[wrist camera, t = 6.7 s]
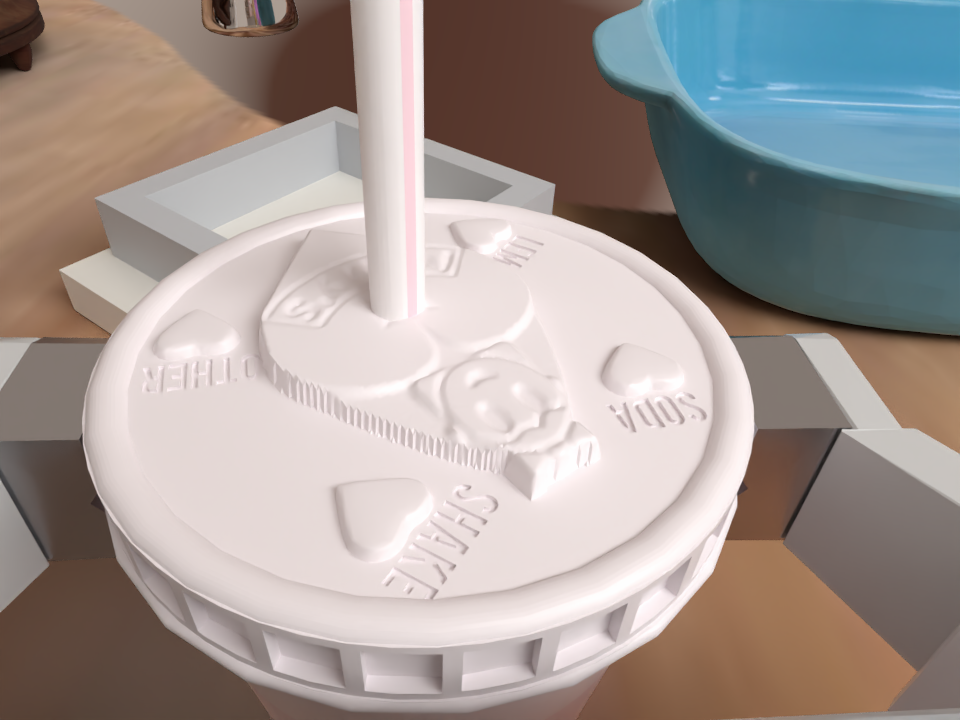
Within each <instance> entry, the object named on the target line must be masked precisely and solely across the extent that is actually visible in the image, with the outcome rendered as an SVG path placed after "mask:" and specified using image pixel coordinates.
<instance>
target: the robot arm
mask: <svg viewBox="0 0 960 720" xmlns="http://www.w3.org/2000/svg"><path fill="white" fill-rule="evenodd" d="M729 337H730V339H731V341H732V342H733V344H734V345H735V348H736V350H737V352H738V354H739V356H740V358H741V360H742V363H743V365H744V368H745V371H746V374H747V377H748V380H749V383H750V388H751V394H752V399H753V405H754V435H753V443H752V450H751V455H750V458H749V462H748V465H747V469H746V472H745V476H744V478H743V481H742V483H741V485H740V487H739V490H738V492H737V509H736V511H735V514H734V517H733V519H732V522H731V525H730V528H729V530H728V533H727V536H726V538H725V540H784V542H783V544H784V545H785V546H786V547H787V548H788V549H789V550H790V551H791V552H792V553H793V554H794V555H795V556H796V557H797V558H798V559H799V560H801V561H802V562H803V563H804V564H805V565H806V566H807V567H808V568H809V569H810V570H811V571H812V572H813V573H814V574H815V575H816V576H817V577H818V578H820V579H821V580H822V581H823V582H824V583H825V584H826V585H827V586H828V587H829V588H830V589H831V590H832V591H833V592H834V593H835V594H836V595H837V596H838V597H840V598H841V599H842V600H843V601H844V602H845V603H846V604H847V605H848V606H849V607H850V608H851V609H852V610H853V611H854V612H855V613H856V614H857V615H859V616H860V617H861V618H862V619H863V620H864V621H865V622H866V623H867V624H868V625H869V626H870V627H871V628H872V629H873V630H874V631H875V632H876V633H877V634H879V635H880V636H881V637H882V638H883V639H884V640H885V641H886V642H887V643H888V644H889V645H890V646H891V647H892V648H893V649H894V650H895V651H896V652H898V653H899V654H900V655H901V656H902V657H903V658H904V659H905V660H906V661H907V662H908V663H909V664H910V665H911V666H912V667H913V668H914V669H915V670H916V671H918V672H917V673H916V674H915V675H914V676H913V677H912V679H911V680H910V681H909V682H908V683H907V684H906V685H905V687H904V688H903V689H902V690H901V691H900V692H899V693H898V695H897V696H896V697H895V698H894V700H893V702H892V703H891V705H890V707H889V709H888V711H887V712H866V713H845V714H825V715H804V716H783V717H762V718H741V719H720V720H960V454H959V453H957V452H955V451H953V450H952V449H950V448H948V447H946V446H945V445H943V444H941V443H940V442H938V441H936V440H934V439H933V438H931V437H929V436H928V435H926V434H924V433H922V432H921V431H919V430H917V429H902V428H901V426H900V425H899V424H898V422H897V421H896V419H895V418H894V417H893V415H892V414H891V412H890V411H889V410H888V408H887V407H886V406H885V404H884V403H883V401H882V400H881V399H880V397H879V396H878V395H877V393H876V392H875V390H874V389H873V388H872V386H871V385H870V383H869V382H868V381H867V379H866V378H865V377H864V375H863V374H862V372H861V371H860V370H859V368H858V367H857V366H856V364H855V363H854V361H853V360H852V359H851V357H850V356H849V355H848V353H847V352H846V350H845V349H844V348H843V346H842V345H841V343H840V342H839V341H838V339H836V338H835V337H833V336H831V335H829V334H828V333H811V334H785V335H784V336H729ZM108 340H109V338H52V337H43V338H4V337H0V612H1V611H2V610H3V609H4V608H5V607H7V606H8V605H9V604H10V603H11V602H12V601H13V600H14V599H15V598H16V597H17V596H18V595H19V594H20V593H21V592H22V591H23V590H24V589H25V588H26V587H27V586H28V585H30V584H31V583H32V582H33V581H34V580H35V579H36V578H37V577H38V576H39V575H40V574H41V573H42V572H43V571H44V570H45V569H46V568H47V567H48V566H49V563H48V561H61V560H80V559H98V558H116V554H115V550H114V546H113V542H112V538H111V533H110V529H109V525H108V521H107V517H106V513H105V508H104V506H103V504H102V503H101V501H100V498H99V496H98V494H97V491H96V489H95V486H94V483H93V481H92V478H91V476H90V473H89V470H88V467H87V462H86V457H85V452H84V447H83V431H82V417H83V409H84V401H85V395H86V391H87V388H88V384H89V381H90V377H91V374H92V371H93V369H94V367H95V365H96V362H97V360H98V358H99V356H100V353H101V352H102V350H103V348H104V347H105V345H106V343H107V342H108Z"/></svg>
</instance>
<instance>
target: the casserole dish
mask: <svg viewBox="0 0 960 720" xmlns="http://www.w3.org/2000/svg"><path fill="white" fill-rule="evenodd" d="M593 53H594V57H595V61H596V64H597V67H598V69H599V72H600V73H601V75H602V77H603V78H604V79H605V81H606V82H607V83H608V84H609V85H610V86H611V87H612V88H614V89H615V90H617V91H619V92H620V93H622V94H624V95H627V96H629V97H631V98H634V99H636V100H639V101H641V102H645V106H646V113H647V119H648V125H649V129H650V134H651V139H652V143H653V146H654V150H655V153H656V156H657V159H658V162H659V165H660V167H661V170H662V173H663V176H664V178H665V181H666V184H667V187H668V189H669V192H670V195H671V198H672V201H673V204H674V206H675V209H676V212H677V215H678V218H679V220H680V223H681V225H682V227H683V229H684V231H685V233H686V235H687V237H688V239H689V240H690V242H691V243H692V245H693V247H694V248H695V250H696V251H697V253H698V254H699V255H700V256H701V257H702V258H703V259H704V260H705V262H706V263H707V264H708V265H709V266H710V267H711V268H712V269H713V270H714V271H716V272H717V273H718V274H719V275H721V276H722V277H723V278H724V279H725V280H727V281H728V282H730V283H731V284H733V285H734V286H736V287H738V288H739V289H741V290H743V291H745V292H747V293H749V294H751V295H753V296H755V297H757V298H759V299H761V300H763V301H766V302H768V303H771V304H774V305H776V306H779V307H782V308H785V309H788V310H791V311H794V312H797V313H801V314H805V315H809V316H814V317H818V318H823V319H827V320H832V321H839V322H845V323H850V324H855V325H862V326H869V327H877V328H885V329H895V330H905V331H915V332H925V333H935V334H945V335H960V0H642V1H641V3H640V5H639V6H638V7H636V8H633V9H631V10H628V11H626V12H623V13H621V14H618V15H616V16H614V17H612V18H610V19H607V20H605V21H604V22H602V23H601V24H600V25H599V26H598V27H597V28H596V29H595V31H594V33H593Z"/></svg>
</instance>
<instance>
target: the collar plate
mask: <svg viewBox="0 0 960 720" xmlns="http://www.w3.org/2000/svg"><path fill="white" fill-rule="evenodd" d="M554 191H555V184H553V183H550V182H547V181H544V180H542V179H539V178H536V177H533V176H530V175H528V174H525V173H522V172H519V171H516V170H513V169H511V168H508V167H505V166H502V165H499V164H497V163H493V162H491V161H488V160H485V159H482V158H480V157H477V156H474V155H471V154H468V153H465V152H463V151H460V150H457V149H454V148H451V147H448V146H446V145H443V144H440V143H437V142H434V141H432V140H429V139H426V138H424V198H444V199H464V200H475V201H482V202H489V203H495V204H502V205H509V206H516V207H520V208H524V209H528V210H532V211H536V212H540V213H544V214H548V215H552V208H553V200H554ZM95 201H96V204H97V207H98V210H99V213H100V217H101V220H102V223H103V226H104V229H105V232H106V235H107V238H108V241H109V244H110V248H108V249H106V250H103V251H101V252H99V253H97V254H94V255H92V256H90V257H87V258H85V259H83V260H80V261H78V262H76V263H74V264H71V265H69V266H67V267H64V268H62V269H60V270H59V272H60V274H61V277H62V279H63V282H64V284H65V287H66V290H67V292H68V295H69V297H70V300H71V302H72V305H73V308H74V310H76V311H77V312H79V313H80V314H82V315H83V316H85V317H86V318H88V319H89V320H91V321H92V322H94V323H95V324H97V325H98V326H100V327H101V328H103V329H104V330H106V331H107V332H109V333H110V334H112V333H113V332H114V331H115V329H116V328H117V327H118V325H119V324H120V323H121V321H122V320H123V319H124V318H125V316H126V315H127V313H128V312H129V311H130V310H131V309H132V308H133V307H134V306H135V305H136V304H137V303H138V302H139V301H140V300H141V299H142V298H143V297H144V296H145V295H146V294H148V293H149V292H150V291H151V290H152V289H153V288H154V287H155V286H156V285H157V284H158V283H159V282H160V281H161V280H162V279H164V278H165V277H167V276H168V275H170V274H171V273H173V272H174V271H175V270H177V269H178V268H180V267H181V266H183V265H184V264H186V263H187V262H189V261H190V260H192V259H193V258H194V257H196V256H197V255H199V254H200V253H202V252H204V251H206V250H208V249H210V248H212V247H214V246H216V245H218V244H220V243H222V242H224V241H226V240H228V239H230V238H232V237H234V236H236V235H238V234H240V233H242V232H245V231H248V230H250V229H253V228H256V227H259V226H262V225H265V224H267V223H270V222H273V221H276V220H279V219H281V218H284V217H287V216H291V215H296V214H300V213H304V212H308V211H312V210H317V209H321V208H325V207H329V206H334V205H341V204H348V203H356V202H363V201H364V199H363V184H362V169H361V154H360V139H359V124H358V114H355V113H352V112H350V111H347V110H344V109H341V108H338V107H332V108H330V109H327V110H324V111H322V112H319V113H316V114H314V115H311V116H309V117H306V118H303V119H301V120H298V121H295V122H293V123H290V124H287V125H285V126H282V127H280V128H277V129H274V130H272V131H269V132H266V133H264V134H261V135H259V136H256V137H253V138H251V139H248V140H245V141H243V142H240V143H238V144H235V145H232V146H230V147H227V148H224V149H222V150H219V151H217V152H214V153H211V154H209V155H206V156H203V157H201V158H198V159H196V160H193V161H190V162H188V163H185V164H182V165H180V166H177V167H175V168H172V169H169V170H167V171H164V172H161V173H159V174H156V175H154V176H151V177H148V178H146V179H143V180H140V181H138V182H135V183H133V184H130V185H127V186H125V187H122V188H119V189H117V190H114V191H112V192H109V193H106V194H104V195H101V196H98V197H96V198H95ZM552 216H555V215H552ZM556 217H558V216H556ZM565 220H566V219H565Z"/></svg>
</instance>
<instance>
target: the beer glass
mask: <svg viewBox="0 0 960 720" xmlns="http://www.w3.org/2000/svg"><path fill="white" fill-rule="evenodd" d="M202 22H203V25H204V27H205V28H206V29H208V30H209V31H211V32H214V33H217V34H221V35H226V36H235V37H261V36H270V35H276V34H280V33H284V32H287V31H290V30H292V29H294V28H295V27H296V26H297V25H298V22H299V18H298V13H297V9H296V6H295V2H294V0H202Z"/></svg>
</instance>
